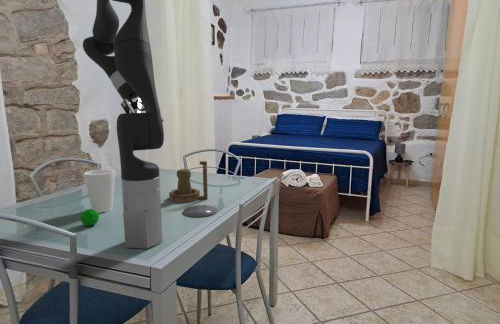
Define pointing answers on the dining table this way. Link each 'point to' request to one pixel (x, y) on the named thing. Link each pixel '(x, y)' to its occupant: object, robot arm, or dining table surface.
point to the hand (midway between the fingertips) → (153, 124)
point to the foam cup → (100, 189)
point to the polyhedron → (89, 217)
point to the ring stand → (195, 192)
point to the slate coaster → (200, 211)
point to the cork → (184, 182)
